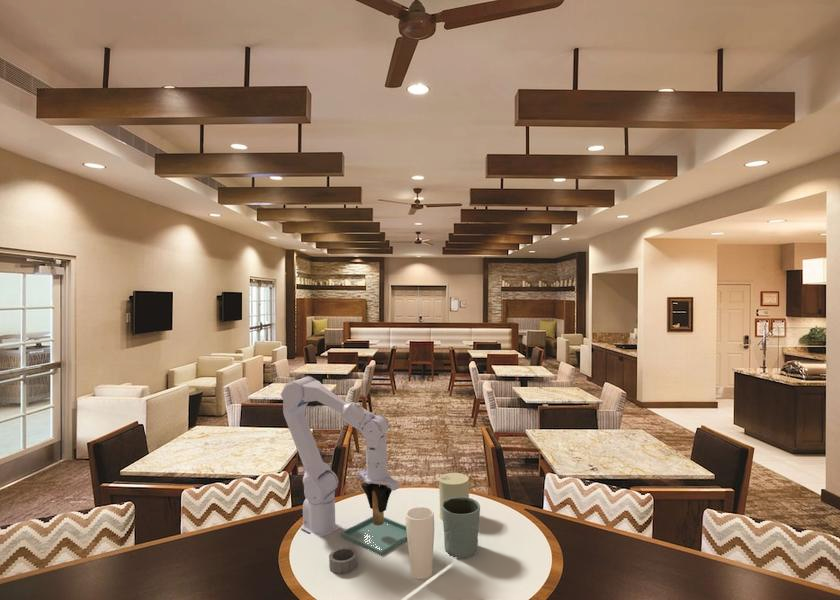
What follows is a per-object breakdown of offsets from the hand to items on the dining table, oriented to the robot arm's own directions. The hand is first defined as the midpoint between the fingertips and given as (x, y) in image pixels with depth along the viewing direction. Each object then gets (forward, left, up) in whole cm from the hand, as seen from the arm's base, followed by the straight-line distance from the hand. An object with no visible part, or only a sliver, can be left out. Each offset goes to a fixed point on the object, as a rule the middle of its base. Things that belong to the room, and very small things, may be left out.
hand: (378, 509), depth 136 cm
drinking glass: (+21, -6, -8) cm, 23 cm away
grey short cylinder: (+4, -16, -8) cm, 18 cm away
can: (+9, +23, -8) cm, 26 cm away
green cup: (+22, +9, -8) cm, 25 cm away
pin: (0, 0, -4) cm, 4 cm away
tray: (0, 0, -8) cm, 8 cm away
